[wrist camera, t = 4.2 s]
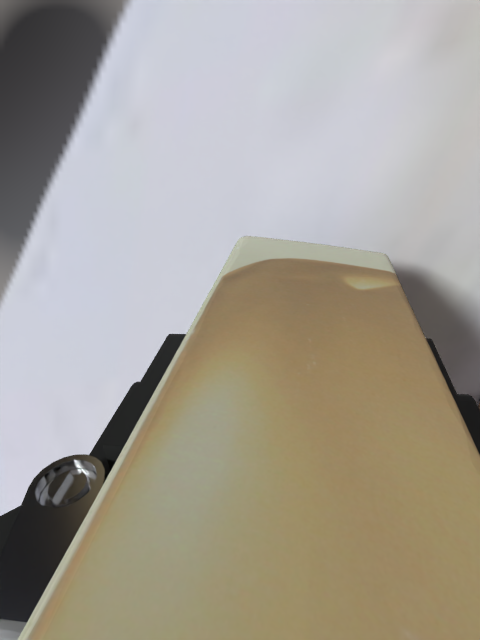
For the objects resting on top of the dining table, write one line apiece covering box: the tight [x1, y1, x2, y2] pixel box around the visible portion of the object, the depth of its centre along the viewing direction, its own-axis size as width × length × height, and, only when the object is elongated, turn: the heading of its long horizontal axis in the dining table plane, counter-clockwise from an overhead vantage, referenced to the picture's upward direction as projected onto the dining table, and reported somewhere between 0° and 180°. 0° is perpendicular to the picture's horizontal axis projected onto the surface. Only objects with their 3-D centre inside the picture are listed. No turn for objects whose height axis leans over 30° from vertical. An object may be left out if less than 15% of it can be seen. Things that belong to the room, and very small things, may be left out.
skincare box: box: [18, 236, 480, 640], centre depth 8 cm, size 6×4×12 cm
